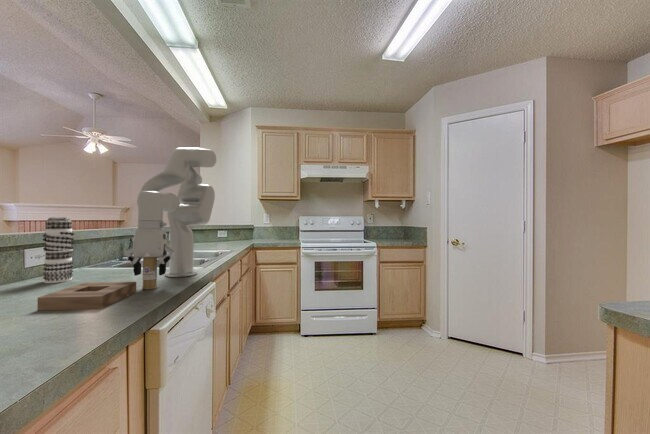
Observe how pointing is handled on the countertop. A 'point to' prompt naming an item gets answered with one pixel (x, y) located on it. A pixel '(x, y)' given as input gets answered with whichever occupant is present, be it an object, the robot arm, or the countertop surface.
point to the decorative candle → (58, 250)
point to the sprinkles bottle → (149, 272)
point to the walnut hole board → (86, 296)
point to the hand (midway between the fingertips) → (149, 274)
